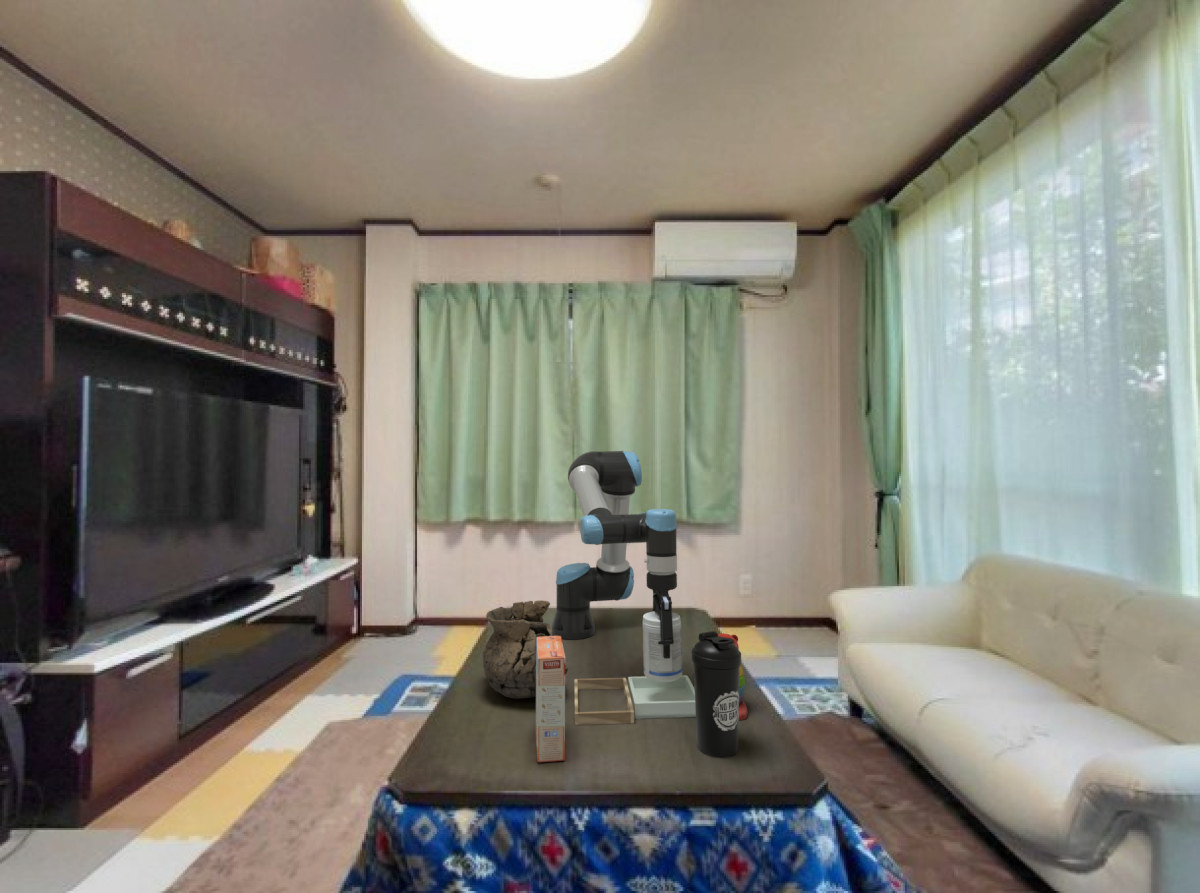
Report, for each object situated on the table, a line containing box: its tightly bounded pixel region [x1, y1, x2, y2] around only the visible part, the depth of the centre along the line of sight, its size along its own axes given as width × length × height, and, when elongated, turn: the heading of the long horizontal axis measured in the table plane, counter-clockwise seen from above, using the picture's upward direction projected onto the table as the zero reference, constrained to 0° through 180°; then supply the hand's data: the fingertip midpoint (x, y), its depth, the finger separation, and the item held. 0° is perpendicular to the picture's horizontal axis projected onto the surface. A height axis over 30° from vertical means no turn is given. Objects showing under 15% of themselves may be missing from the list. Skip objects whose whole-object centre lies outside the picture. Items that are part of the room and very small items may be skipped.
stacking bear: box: [717, 632, 748, 721], centre depth 132 cm, size 11×10×18 cm
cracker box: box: [535, 635, 566, 763], centre depth 116 cm, size 14×6×21 cm, turn 7°
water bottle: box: [691, 630, 742, 758], centre depth 115 cm, size 10×10×23 cm
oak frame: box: [573, 677, 635, 726], centre depth 134 cm, size 20×14×2 cm
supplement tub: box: [642, 611, 683, 682], centre depth 135 cm, size 10×10×15 cm
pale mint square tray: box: [627, 674, 696, 720], centre depth 135 cm, size 16×16×4 cm
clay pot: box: [482, 599, 569, 700], centre depth 142 cm, size 25×24×22 cm
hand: (662, 662), depth 135 cm, fingers closed on supplement tub, 10 cm apart
